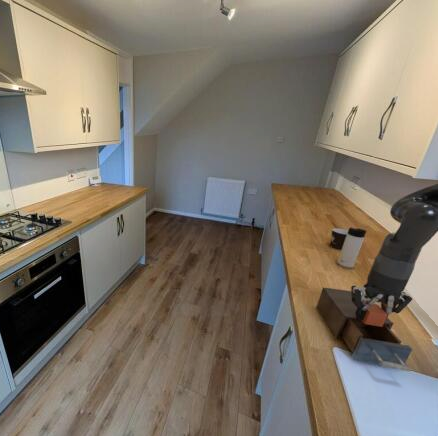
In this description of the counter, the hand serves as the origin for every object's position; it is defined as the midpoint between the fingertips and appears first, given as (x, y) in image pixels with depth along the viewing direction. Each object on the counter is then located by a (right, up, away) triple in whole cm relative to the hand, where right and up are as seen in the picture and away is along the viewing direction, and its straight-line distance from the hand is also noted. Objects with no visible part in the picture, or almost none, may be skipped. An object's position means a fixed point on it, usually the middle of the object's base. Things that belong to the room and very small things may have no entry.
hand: (369, 319), depth 71 cm
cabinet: (+2, -6, +10) cm, 12 cm away
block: (0, 0, 0) cm, 0 cm away
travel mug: (+32, +7, +46) cm, 57 cm away
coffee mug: (+41, +13, +64) cm, 77 cm away
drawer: (-1, -9, -1) cm, 9 cm away
